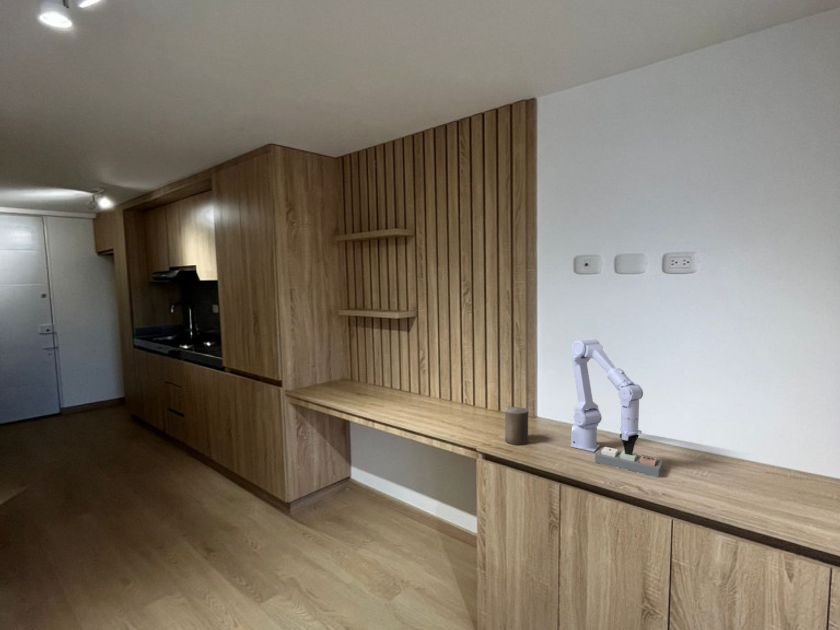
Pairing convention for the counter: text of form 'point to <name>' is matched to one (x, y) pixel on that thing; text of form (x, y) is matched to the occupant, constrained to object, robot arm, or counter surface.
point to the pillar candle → (516, 425)
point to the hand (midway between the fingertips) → (628, 453)
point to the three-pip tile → (648, 460)
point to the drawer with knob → (609, 451)
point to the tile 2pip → (628, 456)
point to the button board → (629, 464)
